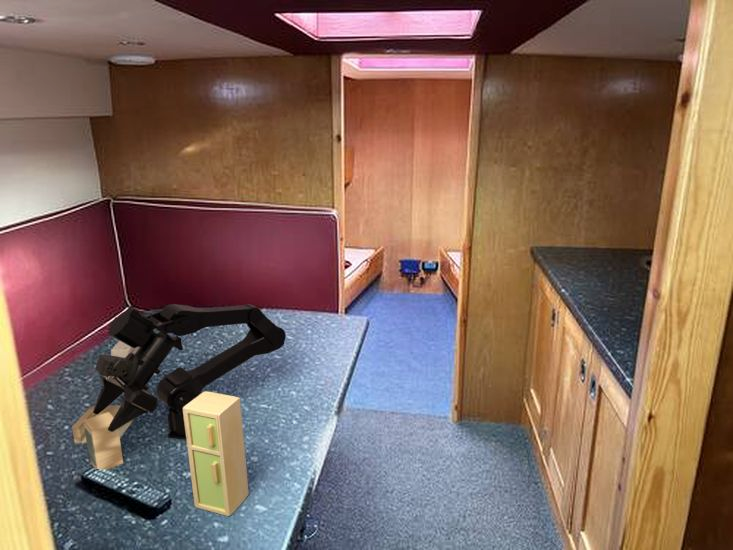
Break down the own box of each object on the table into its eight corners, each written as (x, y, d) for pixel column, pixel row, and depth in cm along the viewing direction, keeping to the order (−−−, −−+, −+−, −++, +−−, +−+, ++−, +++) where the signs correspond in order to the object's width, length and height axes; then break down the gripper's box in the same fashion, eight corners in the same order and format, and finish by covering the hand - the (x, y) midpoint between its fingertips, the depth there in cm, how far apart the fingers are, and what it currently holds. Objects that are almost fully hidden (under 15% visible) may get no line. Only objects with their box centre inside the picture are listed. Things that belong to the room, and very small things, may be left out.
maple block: (115, 453, 120) (108, 411, 118) (123, 463, 117) (117, 420, 114) (89, 462, 117) (82, 420, 114) (97, 473, 114) (90, 430, 111)
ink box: (125, 376, 156) (119, 337, 153) (143, 376, 156) (138, 337, 153) (114, 391, 148) (108, 350, 144) (134, 390, 148) (129, 349, 145)
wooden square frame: (133, 420, 134) (131, 405, 132) (117, 442, 124) (115, 426, 123) (93, 420, 133) (91, 405, 132) (74, 443, 124) (72, 427, 123)
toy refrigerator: (190, 510, 103) (179, 408, 97) (214, 486, 109) (205, 389, 104) (227, 520, 100) (217, 416, 94) (249, 495, 107) (241, 397, 101)
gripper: (102, 327, 120) (55, 390, 116) (135, 353, 107) (82, 425, 103) (143, 351, 127) (99, 410, 123) (178, 378, 114) (130, 446, 110)
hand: (102, 422), depth 115 cm, fingers open, 9 cm apart
